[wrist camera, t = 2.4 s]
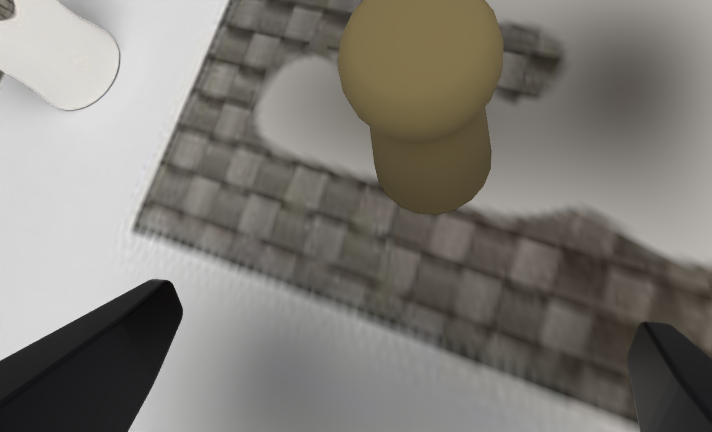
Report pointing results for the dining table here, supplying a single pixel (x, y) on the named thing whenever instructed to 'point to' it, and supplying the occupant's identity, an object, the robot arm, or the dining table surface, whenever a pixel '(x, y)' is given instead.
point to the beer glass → (56, 52)
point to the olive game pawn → (424, 95)
